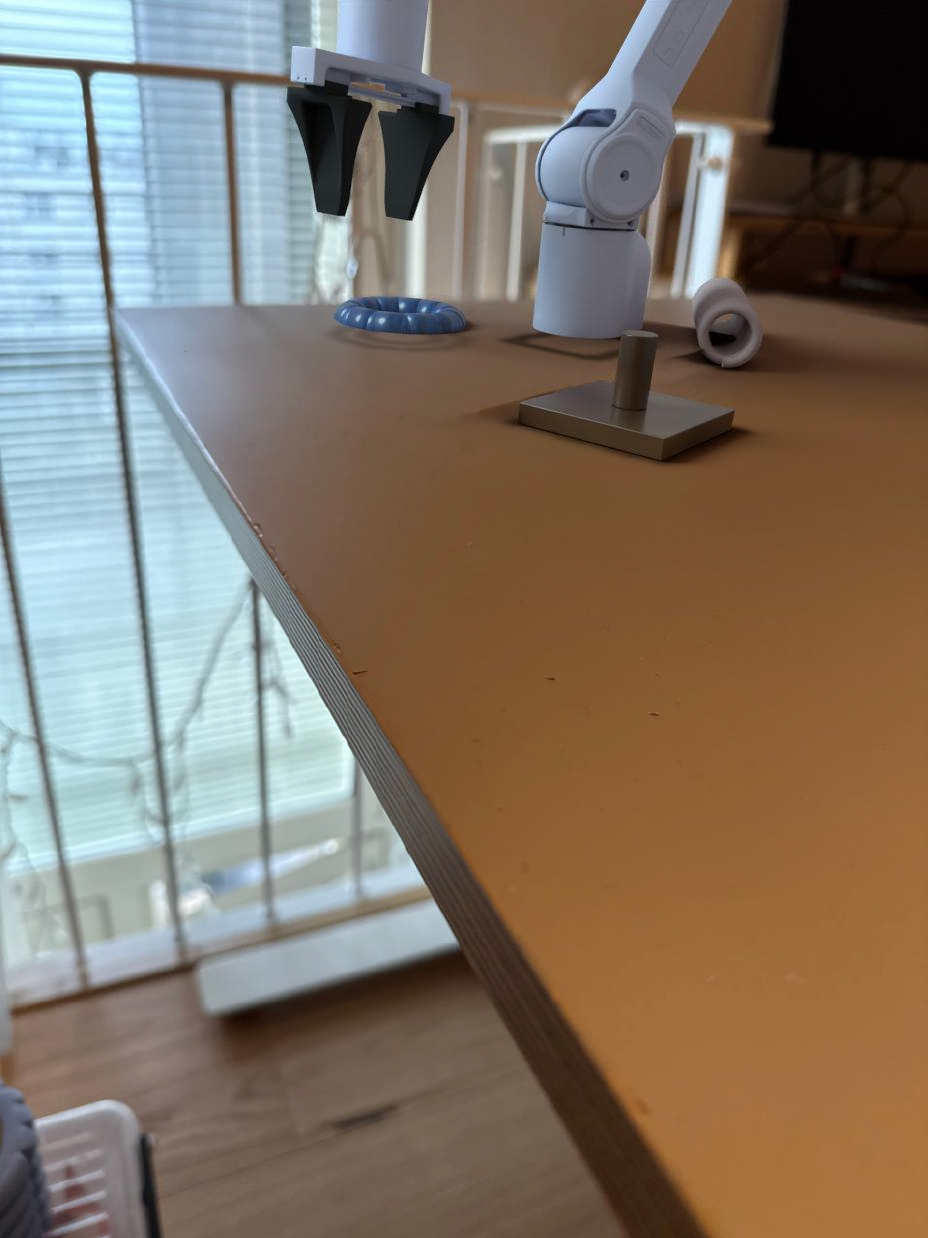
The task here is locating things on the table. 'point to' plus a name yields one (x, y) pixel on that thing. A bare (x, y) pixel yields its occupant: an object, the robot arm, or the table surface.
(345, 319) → the blue segmented ring
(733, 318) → the coil
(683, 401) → the peg stand
